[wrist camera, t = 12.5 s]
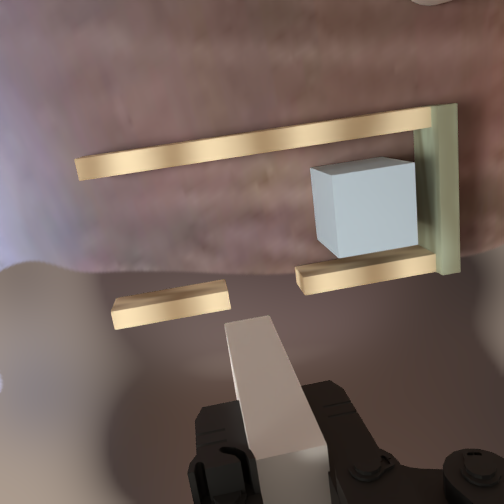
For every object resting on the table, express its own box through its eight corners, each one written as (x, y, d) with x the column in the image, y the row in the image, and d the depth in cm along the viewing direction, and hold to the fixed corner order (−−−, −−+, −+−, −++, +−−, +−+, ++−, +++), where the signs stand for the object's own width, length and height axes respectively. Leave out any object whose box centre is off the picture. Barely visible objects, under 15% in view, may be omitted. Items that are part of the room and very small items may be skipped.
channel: (120, 314, 39) (113, 335, 36) (83, 156, 36) (70, 160, 32) (435, 258, 42) (460, 272, 38) (430, 105, 38) (457, 103, 34)
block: (317, 238, 40) (339, 258, 34) (309, 167, 38) (331, 175, 33) (385, 227, 41) (418, 244, 35) (381, 156, 39) (414, 162, 33)
